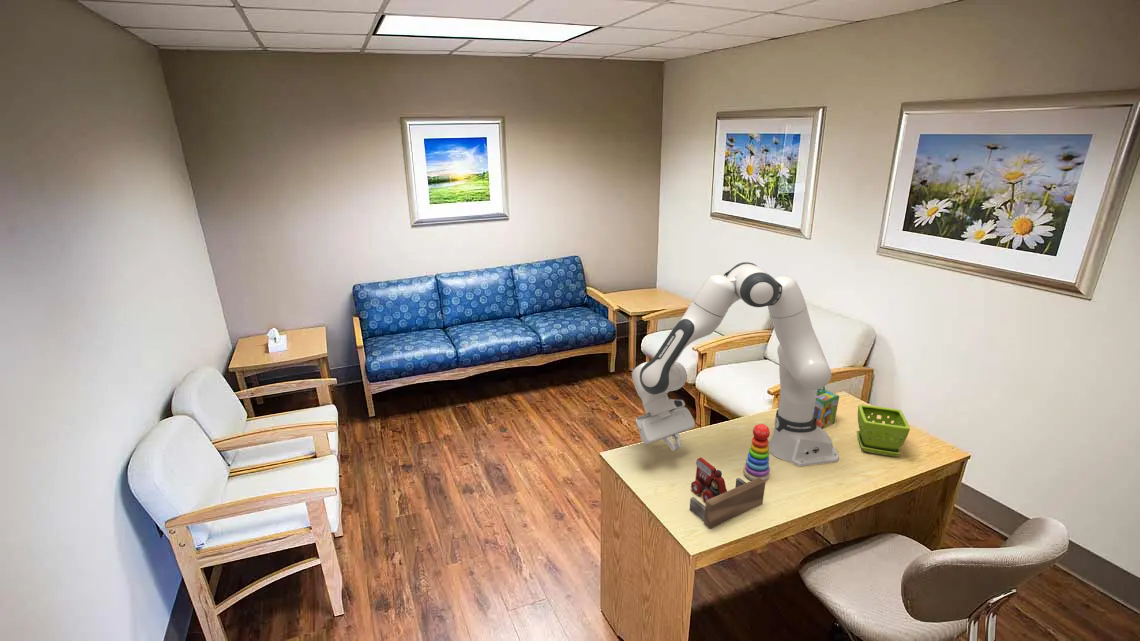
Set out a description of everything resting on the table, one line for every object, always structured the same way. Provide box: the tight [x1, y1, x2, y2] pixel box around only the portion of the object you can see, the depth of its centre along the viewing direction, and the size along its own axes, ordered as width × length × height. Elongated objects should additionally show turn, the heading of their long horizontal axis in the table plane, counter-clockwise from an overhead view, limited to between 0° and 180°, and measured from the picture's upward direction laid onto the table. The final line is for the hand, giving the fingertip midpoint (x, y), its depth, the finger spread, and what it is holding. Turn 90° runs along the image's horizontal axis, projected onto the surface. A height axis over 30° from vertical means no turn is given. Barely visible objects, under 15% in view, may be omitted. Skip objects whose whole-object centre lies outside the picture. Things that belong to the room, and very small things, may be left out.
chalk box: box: [813, 386, 840, 429], centre depth 207 cm, size 9×9×15 cm
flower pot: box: [856, 403, 911, 457], centre depth 190 cm, size 14×14×13 cm
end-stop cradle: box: [688, 477, 766, 530], centre depth 161 cm, size 9×21×8 cm, turn 120°
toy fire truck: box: [690, 456, 728, 504], centre depth 166 cm, size 7×12×10 cm, turn 28°
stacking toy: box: [743, 423, 771, 482], centre depth 174 cm, size 8×8×19 cm
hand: (676, 449), depth 179 cm, fingers closed
